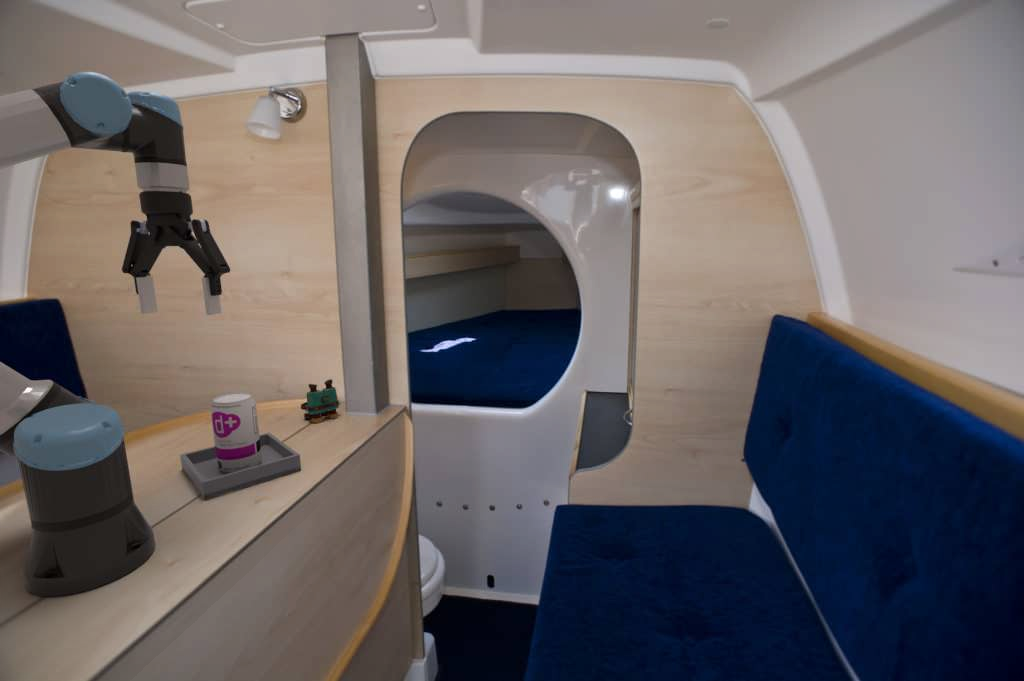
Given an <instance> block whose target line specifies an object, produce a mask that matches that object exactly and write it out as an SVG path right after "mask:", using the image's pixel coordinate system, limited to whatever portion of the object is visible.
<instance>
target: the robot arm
mask: <svg viewBox="0 0 1024 681" xmlns="http://www.w3.org/2000/svg"><path fill="white" fill-rule="evenodd" d="M184 130H185V129H184V125H183V122H182V117H181V111H180V107H179V104H178V102H177V101H176V100H175V99H174V98H172V97H170V96H169V95H165V94H161V93H157V92H151V91H138V90H137V91H129V92H128V93H127V91H125V89H124V88H123V87H122V86H121V85H120V84H119V83H118V82H117V81H115V80H114V79H113V78H111V77H108V76H107V75H105V74H101V73H99V72H94V71H80V72H77V73H74V74H71V75H70V74H69V75H68V76H67V77H66V78H64V79H63V81H60V82H57V83H52V84H48V85H43V86H40V87H36V88H33V89H25V90H23V91H22V90H21V91H17V92H13V93H8V94H4V95H1V96H0V170H1V169H4V168H8V167H13V166H15V165H18V164H21V163H25V162H28V161H31V160H32V161H33V160H35V159H37V158H42V157H44V156H49V155H52V154H54V153H57V152H58V153H59V152H61V151H64V150H65V151H66V150H67V149H71V148H73V149H74V148H75V149H85V150H97V151H99V150H100V151H111V152H112V151H113V152H121V153H132V155H133V160H134V166H135V167H134V168H135V177H136V183H137V184H136V185H137V188H139V189H140V190H142V191H141V192H140V193H139V194H138V197H139V203H140V209H141V211H140V212H141V213H142V214H143V215H145V216H146V220H131V221H130V236H129V240H128V244H127V248H126V251H125V255H124V259H123V263H122V267H121V271H122V273H123V274H128V275H131V277H132V278H133V280H134V281H133V282H134V288H135V293H136V295H138V301H139V306H140V314H141V315H142V314H143V315H145V314H146V315H147V314H153V313H157V312H159V311H158V304H157V297H156V290H155V284H154V277H153V276H152V274H151V273H150V272H151V270H152V269H153V267H154V266H155V263H156V262H157V260H158V258H159V256H160V255H161V253H162V251H163V249H166V247H179V248H180V249H182V250H184V251H185V253H186V254H187V255H188V256H189V258H190V259H192V261H193V262H194V263H195V264H196V266H197V267H198V268H199V269H200V271H201V272H202V273H203V274H204V275H203V276H202V277H201V283H202V289H203V290H202V292H203V298H204V307H205V314H206V316H212V315H213V316H214V315H217V314H222V307H221V306H222V304H221V297H220V296H221V295H222V293H223V289H222V282H221V281H222V280H221V277H222V275H225V274H229V273H230V272H231V268H230V266H229V264H228V262H227V260H226V259H225V257H224V255H223V253H222V251H221V249H220V247H219V245H218V244H217V241H216V240H215V238H214V236H213V235H212V232H211V229H210V223H209V221H208V220H207V219H196V218H195V219H192V218H191V216H192V215H193V214H194V208H193V202H192V201H193V200H192V195H190V193H187V191H190V189H191V188H190V178H189V170H188V164H187V157H186V145H185V137H184V135H185V134H184ZM193 234H194V235H193ZM0 452H1V453H3V454H5V455H7V456H9V457H11V458H13V459H15V460H17V461H18V462H17V463H18V465H19V471H20V474H21V475H20V476H21V480H22V485H23V489H24V496H25V499H26V500H25V501H26V504H27V509H28V510H27V511H28V514H29V518H30V523H31V530H32V533H31V536H30V537H31V538H30V542H29V545H28V550H27V554H26V559H25V563H24V566H23V577H24V584H25V586H26V587H25V588H26V590H28V592H30V593H31V594H33V595H36V596H43V597H60V596H67V595H73V594H77V593H81V592H86V591H88V590H92V589H96V588H98V587H100V586H103V585H106V584H109V583H111V582H113V581H115V580H117V579H120V578H122V577H124V576H125V575H127V574H129V573H131V572H132V571H134V570H136V569H137V568H138V567H140V566H141V565H143V564H144V563H145V562H146V561H147V560H148V559H149V558H150V557H151V556H152V554H153V553H154V551H155V549H156V542H155V541H156V540H155V534H154V530H153V529H152V527H151V526H150V524H149V522H148V521H147V520H146V518H145V517H144V515H143V513H142V512H141V510H140V509H139V507H138V505H136V503H135V498H134V494H133V493H134V492H133V486H132V481H131V480H132V479H131V474H130V468H129V462H128V456H127V450H126V445H125V427H124V425H123V423H122V420H121V418H120V414H119V412H118V411H117V410H116V409H115V408H113V407H111V406H109V405H105V404H100V403H99V404H96V403H94V401H92V400H90V399H88V398H86V397H85V398H84V397H82V396H80V395H76V394H74V393H72V392H71V391H70V390H68V389H66V388H64V387H62V386H61V385H59V384H58V383H56V382H55V381H53V380H51V379H41V380H40V379H39V380H33V379H32V380H31V379H29V378H28V377H26V376H24V375H23V374H21V373H19V372H18V371H16V370H15V369H13V368H11V367H10V366H8V365H6V364H5V363H3V362H2V361H0Z"/></svg>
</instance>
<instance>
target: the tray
mask: <svg viewBox="0 0 1024 681" xmlns="http://www.w3.org/2000/svg"><path fill="white" fill-rule="evenodd" d="M259 436H260V446H261V455H262V460H261V462H259V464H258V465H257V466H254V467H250V468H247V469H243V470H240V471H236V472H233V473H225V472H223V471H222V470H220V469H219V468H218V465H217V457H216V449H215V445H214V446H211V447H206V448H201V449H199V450H198V449H197V450H194V451H190V452H186V453H182V454H179V457H180V464H181V470H182V472H183V473H184V475H185V476H186V477H187V479H188V480H189V482H190V483H191V484H192V485H193V486H194V488H195V489H196V490H197V492H198V493H199V495H200V496H201V497H202V499H203V498H204V499H203V500H204V501H206V500H210V499H213V498H212V497H214V498H216V496H217V497H220V496H223V495H225V493H227V494H229V493H228V492H230V493H232V492H231V491H233V492H236V491H239V490H242V489H241V488H243V489H246V488H249V487H252V486H255V484H256V485H258V484H262V483H265V482H269V481H272V480H275V479H278V478H281V477H283V476H284V475H285V476H288V475H291V474H294V473H297V471H298V472H300V471H299V470H301V471H302V465H301V455H300V454H299V453H298V452H297V451H295V450H294V449H293V448H291V447H290V446H289V445H287V444H286V443H285V442H283V441H281V439H279V438H277V437H276V436H275V435H273V434H272V433H271V432H266V433H262V434H259ZM293 472H294V473H293ZM287 474H288V475H287ZM251 485H252V486H251ZM248 486H249V487H248ZM245 487H246V488H245ZM238 489H239V490H238ZM235 490H236V491H235ZM222 494H223V495H222ZM219 495H220V496H219Z"/></svg>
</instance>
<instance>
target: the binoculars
mask: <svg viewBox="0 0 1024 681" xmlns="http://www.w3.org/2000/svg"><path fill="white" fill-rule="evenodd" d="M333 382H334V381H333V379H332V378H331V379H327V380H325V381H324V385H325V388H322V390H319V389H317V387H318V385H317V384H314V383H308V388H309V390H310V391H307V392H306V402H302V403H301V404H300V409H301V410H302V411H305V413H304V414H303V416H304V417H303V418H304V419H311V422H312V423H314V424H319V423H323V416H327V418H329V419H337V418H338V417H339V412H338V411H337V409H338V408H339V407H340V402H339V399H338V393H337V389H336V387H335V386H333V385H332V384H333Z"/></svg>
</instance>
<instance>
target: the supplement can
mask: <svg viewBox="0 0 1024 681" xmlns="http://www.w3.org/2000/svg"><path fill="white" fill-rule="evenodd" d="M209 410H210V416H211V423H212V431H213V440H214V441H213V442H214V446H215V449H216V457H217V465H218V468H219V469H220V470H222V471H223V472H225V473H233V472H236V471H240V470H243V469H247V468H250V467H254V466H257V465H258V464H259V462H261V460H262V455H261V446H260V436H259V435H260V428H259V420H258V411H257V403H256V400H255V398H253V396H252V394H251V393H248V392H232V393H228V394H227V393H226V394H222V395H219V396H216V397H215V398H213V400H212V403H211V406H210V409H209Z"/></svg>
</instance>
